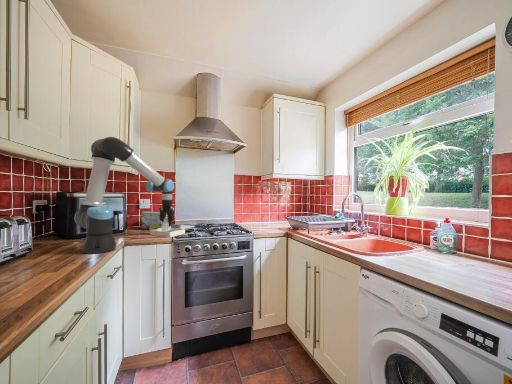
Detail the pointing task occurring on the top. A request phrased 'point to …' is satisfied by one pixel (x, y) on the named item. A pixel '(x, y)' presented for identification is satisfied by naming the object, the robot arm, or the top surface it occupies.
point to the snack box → (150, 220)
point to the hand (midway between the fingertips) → (166, 230)
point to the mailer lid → (180, 226)
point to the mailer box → (167, 232)
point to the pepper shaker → (165, 224)
